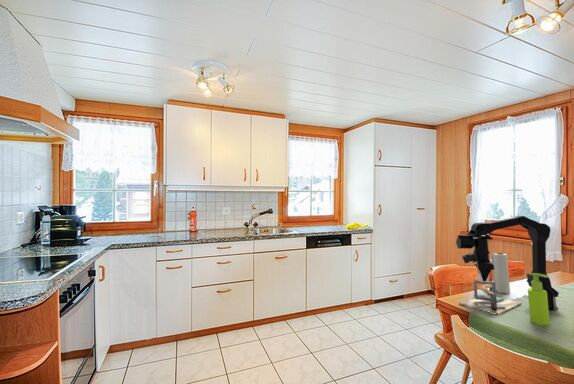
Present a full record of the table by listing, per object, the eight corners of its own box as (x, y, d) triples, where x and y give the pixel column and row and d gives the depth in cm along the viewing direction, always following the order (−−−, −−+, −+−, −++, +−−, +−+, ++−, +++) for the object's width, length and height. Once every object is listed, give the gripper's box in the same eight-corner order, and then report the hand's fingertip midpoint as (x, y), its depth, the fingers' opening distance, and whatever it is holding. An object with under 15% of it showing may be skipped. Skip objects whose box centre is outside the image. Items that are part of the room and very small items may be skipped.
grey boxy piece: (496, 301, 130) (494, 274, 131) (475, 299, 134) (473, 273, 135) (494, 298, 134) (492, 272, 135) (474, 296, 138) (472, 271, 139)
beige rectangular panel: (521, 304, 134) (521, 300, 134) (499, 315, 121) (498, 310, 122) (482, 295, 148) (482, 292, 148) (458, 304, 136) (458, 300, 136)
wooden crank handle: (495, 296, 143) (494, 282, 143) (497, 311, 124) (496, 294, 125) (480, 295, 146) (479, 281, 147) (480, 308, 128) (479, 292, 128)
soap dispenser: (548, 327, 108) (543, 276, 110) (527, 321, 115) (523, 272, 116) (556, 324, 111) (551, 274, 112) (535, 318, 117) (531, 271, 118)
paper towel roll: (512, 294, 149) (508, 254, 151) (499, 293, 151) (495, 254, 153) (506, 290, 156) (503, 252, 158) (493, 289, 158) (490, 252, 160)
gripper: (460, 245, 148) (462, 274, 147) (464, 250, 131) (466, 283, 130) (485, 246, 143) (487, 276, 142) (493, 251, 126) (495, 286, 125)
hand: (483, 280), depth 135 cm, fingers closed on grey boxy piece, 2 cm apart
